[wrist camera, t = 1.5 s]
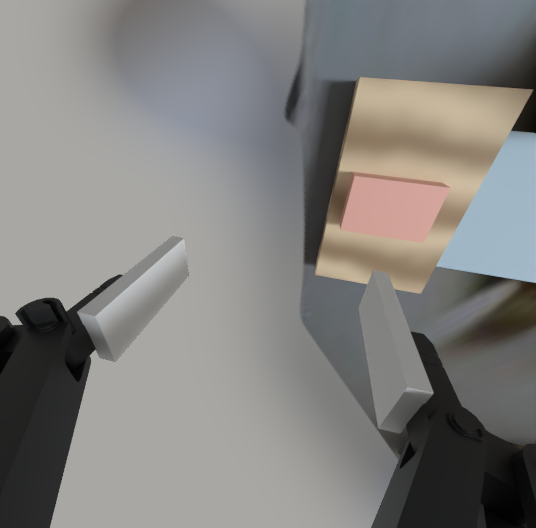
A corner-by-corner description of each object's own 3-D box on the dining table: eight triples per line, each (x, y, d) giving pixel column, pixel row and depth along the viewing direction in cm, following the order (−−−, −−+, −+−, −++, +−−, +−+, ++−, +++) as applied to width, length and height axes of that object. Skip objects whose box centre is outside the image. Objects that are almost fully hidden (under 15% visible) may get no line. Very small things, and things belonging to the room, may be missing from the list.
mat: (497, 129, 24) (498, 129, 24) (677, 146, 22) (681, 146, 22) (426, 263, 33) (427, 264, 32) (551, 284, 31) (553, 285, 30)
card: (352, 171, 26) (354, 175, 24) (442, 182, 25) (450, 187, 23) (339, 223, 29) (340, 230, 27) (417, 235, 28) (423, 243, 26)
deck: (356, 80, 24) (359, 77, 22) (510, 92, 22) (533, 89, 20) (315, 263, 36) (315, 274, 34) (413, 280, 34) (420, 293, 32)
